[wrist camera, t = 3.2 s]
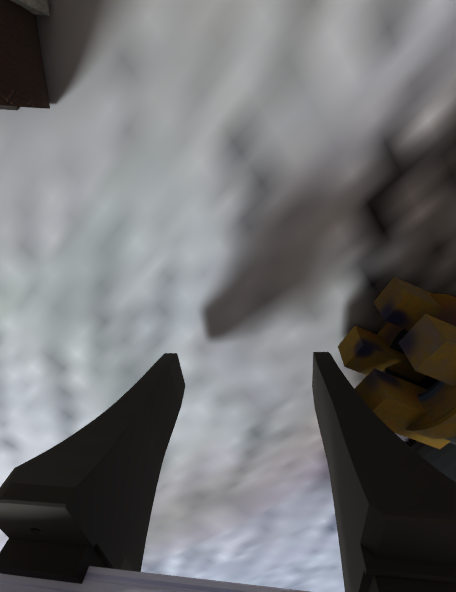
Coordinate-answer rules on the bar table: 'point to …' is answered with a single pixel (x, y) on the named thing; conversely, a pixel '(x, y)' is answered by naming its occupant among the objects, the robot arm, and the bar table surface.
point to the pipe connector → (411, 369)
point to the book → (21, 55)
